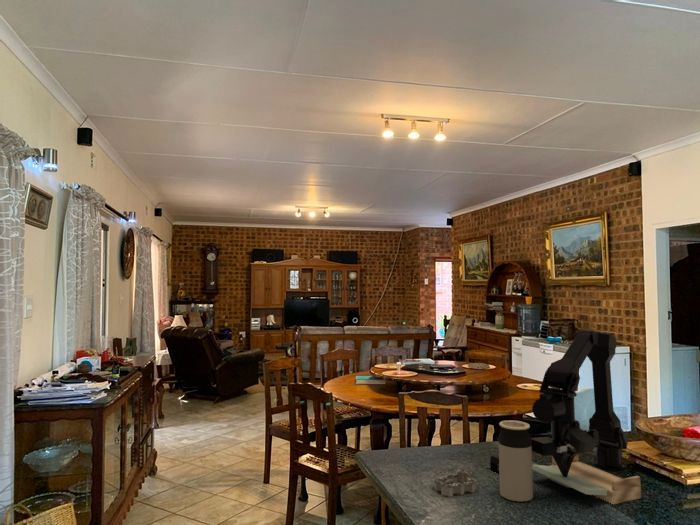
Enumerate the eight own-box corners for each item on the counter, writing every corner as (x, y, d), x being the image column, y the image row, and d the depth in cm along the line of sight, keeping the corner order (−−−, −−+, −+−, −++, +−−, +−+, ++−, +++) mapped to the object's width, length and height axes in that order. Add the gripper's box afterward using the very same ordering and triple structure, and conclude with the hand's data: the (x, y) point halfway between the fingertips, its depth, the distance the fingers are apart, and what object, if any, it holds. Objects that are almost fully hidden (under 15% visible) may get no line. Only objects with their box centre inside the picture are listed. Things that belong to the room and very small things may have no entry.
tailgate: (551, 466, 136) (532, 464, 133) (607, 490, 119) (586, 489, 117) (551, 472, 136) (531, 471, 133) (606, 498, 119) (585, 496, 116)
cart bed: (576, 470, 140) (576, 452, 141) (641, 498, 122) (640, 476, 122) (550, 476, 137) (549, 457, 137) (612, 504, 118) (611, 482, 118)
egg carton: (465, 482, 133) (464, 467, 133) (480, 493, 126) (480, 477, 126) (430, 487, 130) (430, 472, 130) (444, 498, 122) (444, 482, 123)
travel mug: (529, 505, 118) (527, 430, 119) (496, 498, 122) (494, 425, 123) (535, 493, 125) (533, 422, 126) (504, 487, 129) (502, 418, 130)
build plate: (525, 476, 138) (524, 460, 138) (508, 482, 134) (507, 465, 134) (490, 463, 148) (490, 448, 148) (474, 468, 144) (473, 452, 144)
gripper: (559, 427, 116) (561, 494, 115) (615, 419, 123) (618, 482, 122) (526, 416, 126) (527, 478, 125) (579, 409, 133) (581, 467, 132)
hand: (564, 476), depth 126 cm, fingers closed, pressing on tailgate
